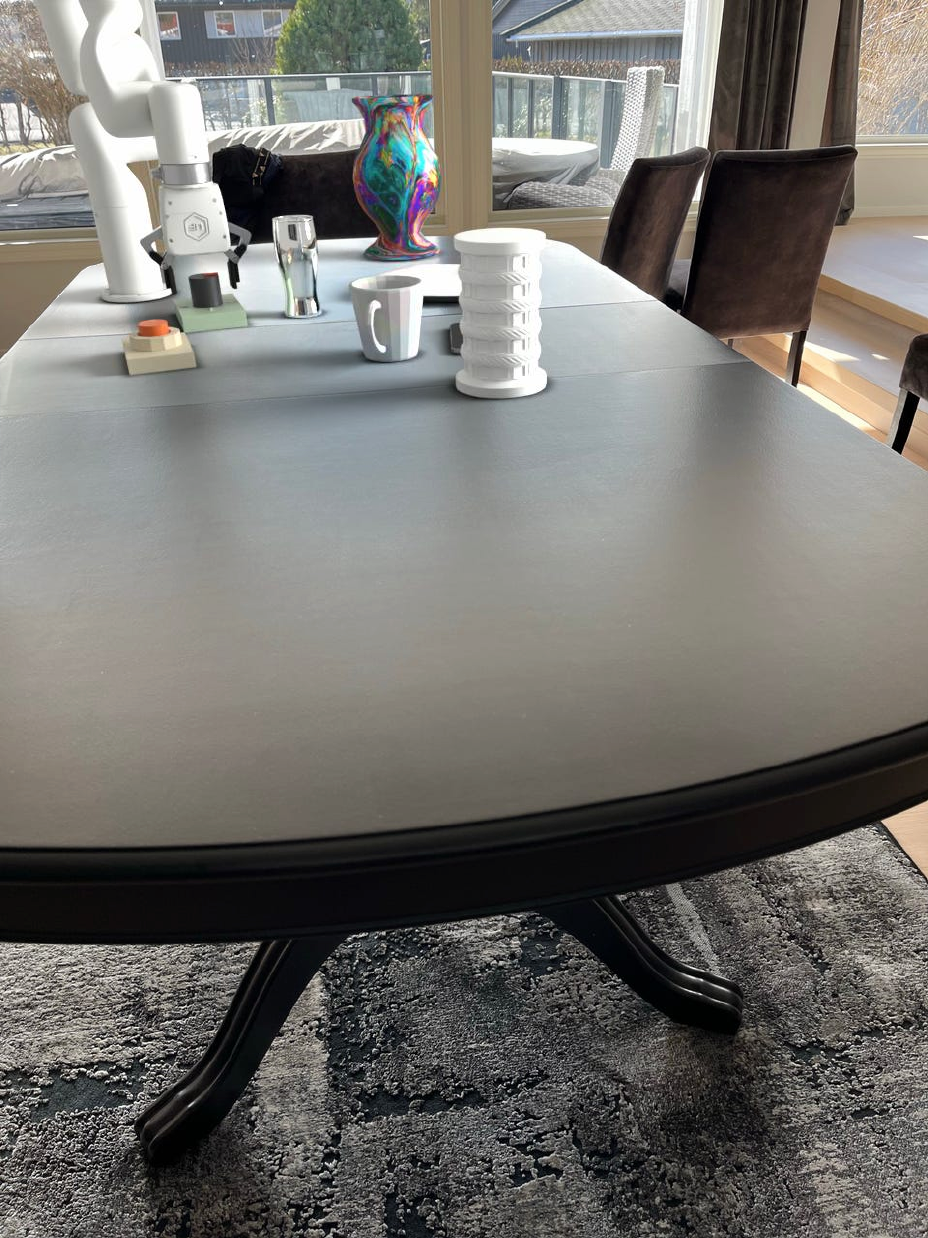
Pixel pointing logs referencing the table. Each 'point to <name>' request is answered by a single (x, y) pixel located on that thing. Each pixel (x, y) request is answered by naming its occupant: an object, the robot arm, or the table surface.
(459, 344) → the smartphone
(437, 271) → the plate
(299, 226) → the beer glass
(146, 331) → the button
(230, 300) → the dial panel
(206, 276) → the dial
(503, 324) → the decorative container
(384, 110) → the vase
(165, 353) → the button block
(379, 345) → the mug
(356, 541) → the table surface
